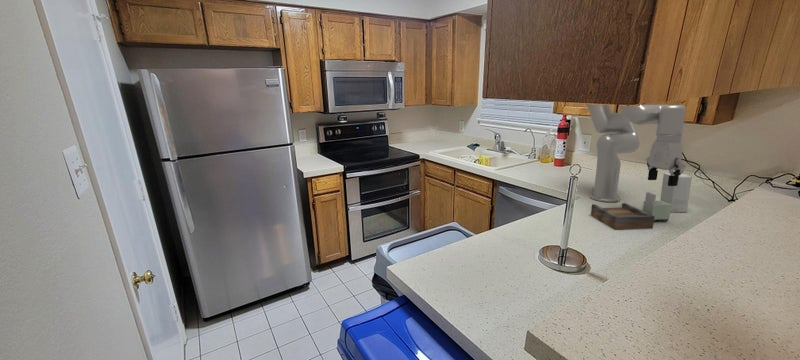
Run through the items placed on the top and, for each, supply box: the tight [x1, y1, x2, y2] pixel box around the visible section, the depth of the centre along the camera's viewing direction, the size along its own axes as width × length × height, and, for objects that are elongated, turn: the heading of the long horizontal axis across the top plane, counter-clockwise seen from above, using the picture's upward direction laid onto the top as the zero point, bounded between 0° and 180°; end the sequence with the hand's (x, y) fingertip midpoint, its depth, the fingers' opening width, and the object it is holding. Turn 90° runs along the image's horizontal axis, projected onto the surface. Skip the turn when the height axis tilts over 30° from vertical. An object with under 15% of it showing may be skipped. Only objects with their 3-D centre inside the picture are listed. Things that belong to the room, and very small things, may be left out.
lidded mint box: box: [642, 191, 671, 223], centre depth 127 cm, size 5×7×11 cm
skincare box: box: [659, 172, 693, 213], centre depth 137 cm, size 8×7×16 cm
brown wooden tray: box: [590, 202, 655, 231], centre depth 128 cm, size 16×14×5 cm
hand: (661, 182), depth 124 cm, fingers open, 9 cm apart
